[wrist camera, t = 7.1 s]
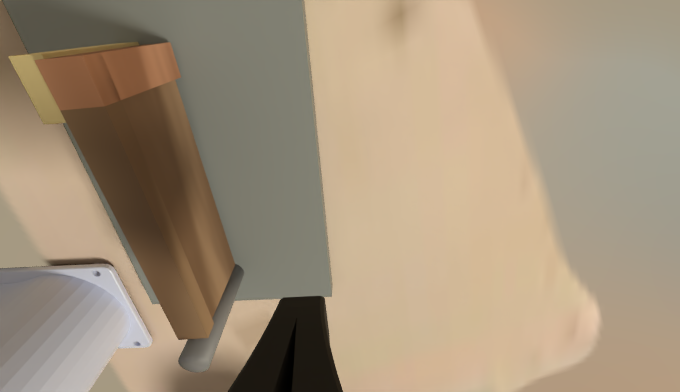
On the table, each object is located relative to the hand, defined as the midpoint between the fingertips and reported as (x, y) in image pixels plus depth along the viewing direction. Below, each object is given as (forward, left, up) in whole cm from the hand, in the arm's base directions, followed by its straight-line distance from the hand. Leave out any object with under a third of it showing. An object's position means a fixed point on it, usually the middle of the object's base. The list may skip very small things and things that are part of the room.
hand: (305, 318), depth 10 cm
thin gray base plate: (-6, +2, -9) cm, 11 cm away
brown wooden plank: (-6, +2, -8) cm, 10 cm away
